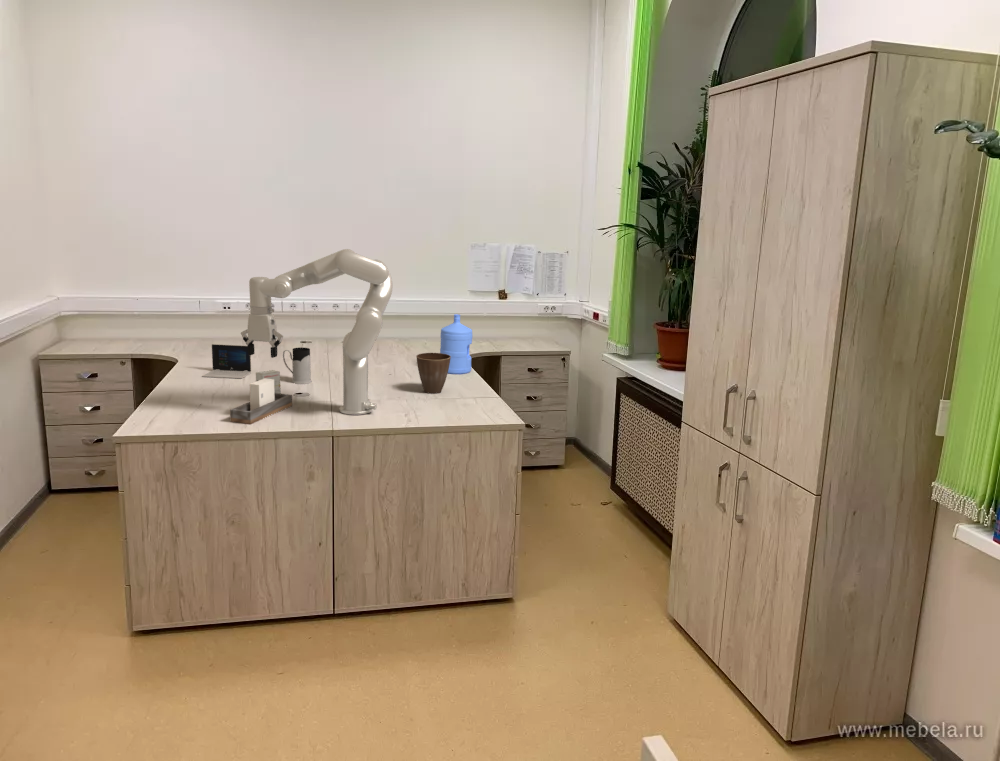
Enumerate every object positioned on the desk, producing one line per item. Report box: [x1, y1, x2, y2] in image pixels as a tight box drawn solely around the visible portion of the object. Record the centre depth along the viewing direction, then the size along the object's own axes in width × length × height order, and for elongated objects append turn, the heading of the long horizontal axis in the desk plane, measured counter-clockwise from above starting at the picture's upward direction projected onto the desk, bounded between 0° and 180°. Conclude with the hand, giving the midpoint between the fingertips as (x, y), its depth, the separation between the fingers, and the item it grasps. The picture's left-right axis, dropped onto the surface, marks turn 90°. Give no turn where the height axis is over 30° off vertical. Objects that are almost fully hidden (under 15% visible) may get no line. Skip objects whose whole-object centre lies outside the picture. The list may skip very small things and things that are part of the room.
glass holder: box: [282, 347, 313, 385], centre depth 341 cm, size 9×14×15 cm, turn 68°
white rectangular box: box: [249, 378, 275, 411], centre depth 289 cm, size 4×10×11 cm, turn 164°
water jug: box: [439, 313, 473, 375], centre depth 374 cm, size 16×16×28 cm
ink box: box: [255, 369, 282, 394], centre depth 309 cm, size 9×5×12 cm, turn 141°
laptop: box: [202, 343, 252, 380], centre depth 347 cm, size 18×12×13 cm
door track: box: [229, 392, 293, 425], centre depth 291 cm, size 8×28×4 cm, turn 164°
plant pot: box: [416, 352, 451, 395], centre depth 333 cm, size 15×15×16 cm
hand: (262, 355), depth 286 cm, fingers open, 9 cm apart
